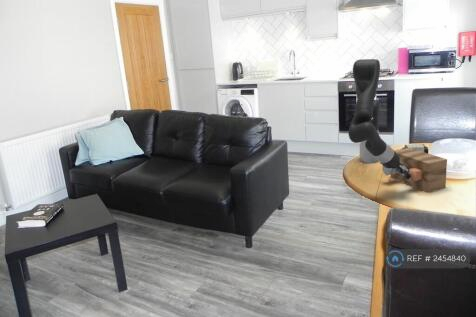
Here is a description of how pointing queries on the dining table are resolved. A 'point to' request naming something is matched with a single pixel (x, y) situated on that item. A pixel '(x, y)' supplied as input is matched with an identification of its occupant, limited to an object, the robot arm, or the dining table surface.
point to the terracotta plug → (415, 174)
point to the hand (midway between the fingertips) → (408, 177)
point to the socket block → (428, 163)
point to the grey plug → (388, 171)
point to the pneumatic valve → (417, 147)
